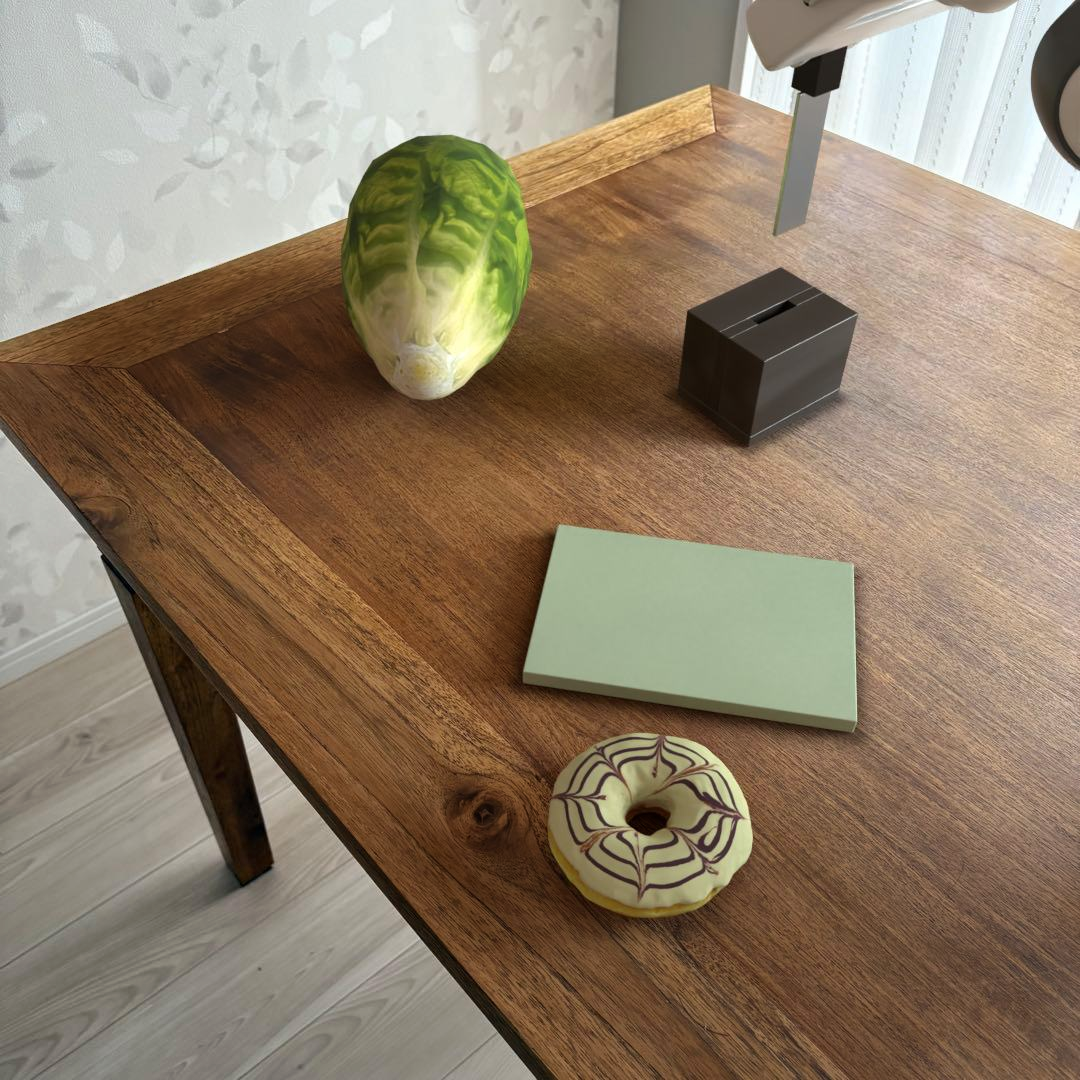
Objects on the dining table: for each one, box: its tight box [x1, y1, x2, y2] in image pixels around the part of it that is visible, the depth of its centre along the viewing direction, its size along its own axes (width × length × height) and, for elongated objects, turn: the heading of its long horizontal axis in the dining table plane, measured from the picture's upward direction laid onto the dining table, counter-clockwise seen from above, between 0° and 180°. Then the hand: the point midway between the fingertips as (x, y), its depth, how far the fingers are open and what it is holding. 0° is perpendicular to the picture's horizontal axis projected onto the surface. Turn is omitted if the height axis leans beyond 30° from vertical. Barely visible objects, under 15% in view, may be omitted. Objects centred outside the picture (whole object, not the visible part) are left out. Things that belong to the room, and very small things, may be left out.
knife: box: [772, 46, 848, 238], centre depth 71 cm, size 2×3×18 cm, turn 127°
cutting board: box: [522, 523, 858, 733], centre depth 71 cm, size 20×13×1 cm, turn 80°
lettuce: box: [340, 134, 533, 402], centre depth 87 cm, size 15×27×16 cm, turn 0°
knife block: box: [676, 266, 859, 448], centre depth 86 cm, size 8×10×8 cm
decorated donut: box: [547, 732, 754, 919], centre depth 59 cm, size 10×11×4 cm
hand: (814, 46), depth 69 cm, fingers closed on knife, 2 cm apart
